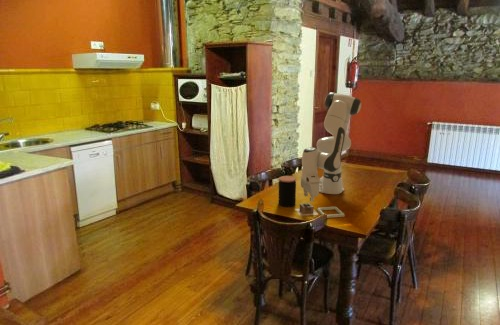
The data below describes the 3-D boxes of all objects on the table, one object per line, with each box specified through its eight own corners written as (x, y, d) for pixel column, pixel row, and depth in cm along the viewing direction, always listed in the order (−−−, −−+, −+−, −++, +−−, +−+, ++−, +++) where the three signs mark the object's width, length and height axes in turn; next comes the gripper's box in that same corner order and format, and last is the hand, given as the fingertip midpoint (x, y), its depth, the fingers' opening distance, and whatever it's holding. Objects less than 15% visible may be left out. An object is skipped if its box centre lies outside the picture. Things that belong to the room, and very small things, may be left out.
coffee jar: (298, 207, 218) (299, 179, 213) (282, 209, 215) (283, 181, 210) (290, 201, 228) (291, 175, 223) (275, 203, 224) (276, 176, 220)
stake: (294, 210, 213) (294, 201, 212) (312, 209, 215) (312, 200, 214) (300, 217, 203) (300, 208, 202) (318, 216, 205) (318, 207, 203)
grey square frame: (316, 211, 211) (317, 207, 211) (335, 210, 213) (335, 206, 213) (324, 219, 200) (324, 215, 199) (344, 218, 202) (344, 214, 201)
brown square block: (299, 209, 211) (299, 203, 210) (309, 209, 212) (309, 202, 211) (302, 214, 205) (303, 207, 204) (313, 213, 206) (313, 206, 205)
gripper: (298, 171, 212) (297, 193, 215) (310, 181, 192) (310, 204, 195) (308, 171, 213) (307, 192, 216) (321, 180, 193) (320, 203, 197)
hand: (308, 198), depth 206 cm, fingers open, 8 cm apart
